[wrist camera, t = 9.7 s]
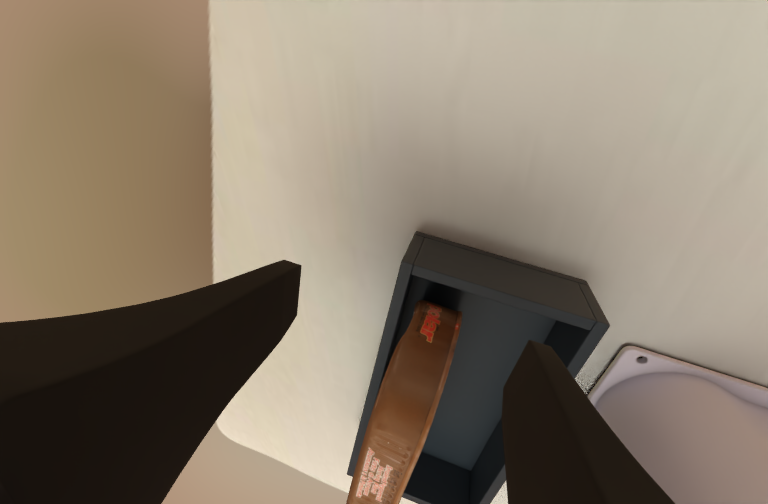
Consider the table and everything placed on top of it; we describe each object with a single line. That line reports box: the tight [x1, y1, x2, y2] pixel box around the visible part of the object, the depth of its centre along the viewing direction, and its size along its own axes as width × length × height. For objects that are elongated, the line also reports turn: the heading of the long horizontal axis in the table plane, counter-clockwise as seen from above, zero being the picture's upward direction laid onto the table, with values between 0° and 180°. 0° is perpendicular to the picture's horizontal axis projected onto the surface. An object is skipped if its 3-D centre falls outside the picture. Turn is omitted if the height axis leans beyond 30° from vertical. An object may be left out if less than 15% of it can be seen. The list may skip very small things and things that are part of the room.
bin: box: [347, 232, 610, 504], centre depth 22 cm, size 10×19×4 cm, turn 168°
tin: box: [346, 300, 462, 504], centre depth 20 cm, size 15×3×8 cm, turn 168°
